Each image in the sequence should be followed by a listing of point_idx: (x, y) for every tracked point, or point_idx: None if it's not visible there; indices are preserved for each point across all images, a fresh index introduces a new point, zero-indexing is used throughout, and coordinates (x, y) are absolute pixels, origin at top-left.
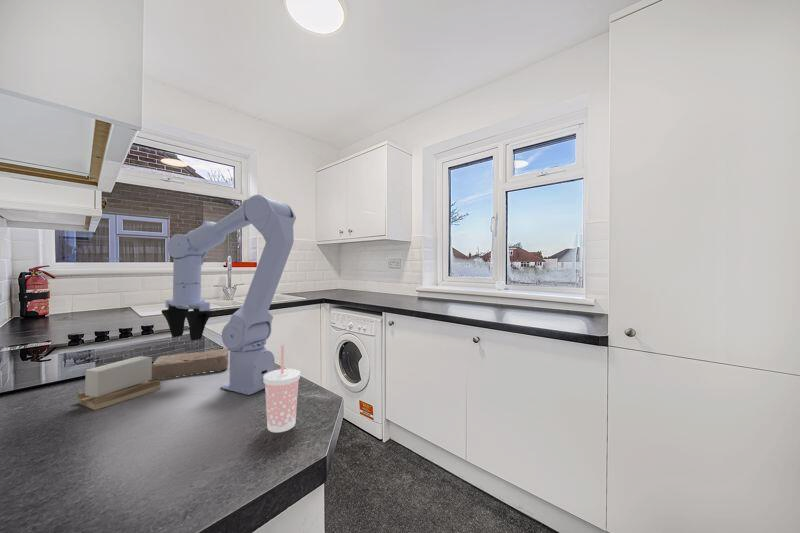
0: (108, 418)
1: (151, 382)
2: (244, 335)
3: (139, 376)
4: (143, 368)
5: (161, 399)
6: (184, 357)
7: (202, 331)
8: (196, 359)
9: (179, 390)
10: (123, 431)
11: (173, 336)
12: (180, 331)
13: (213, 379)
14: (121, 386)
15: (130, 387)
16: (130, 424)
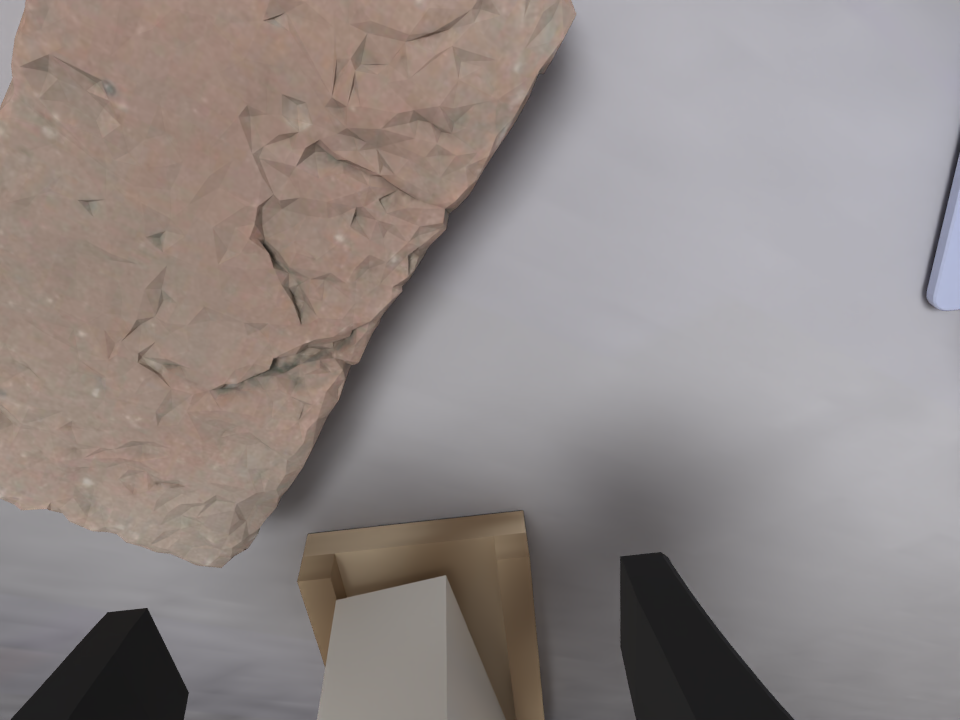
0: None
1: (517, 591)
2: None
3: (469, 670)
4: (462, 699)
5: (702, 552)
6: (157, 331)
7: (729, 652)
8: (384, 303)
9: (659, 455)
10: (885, 703)
11: (184, 706)
12: (125, 697)
13: (679, 220)
14: (494, 708)
15: None
16: (850, 682)
